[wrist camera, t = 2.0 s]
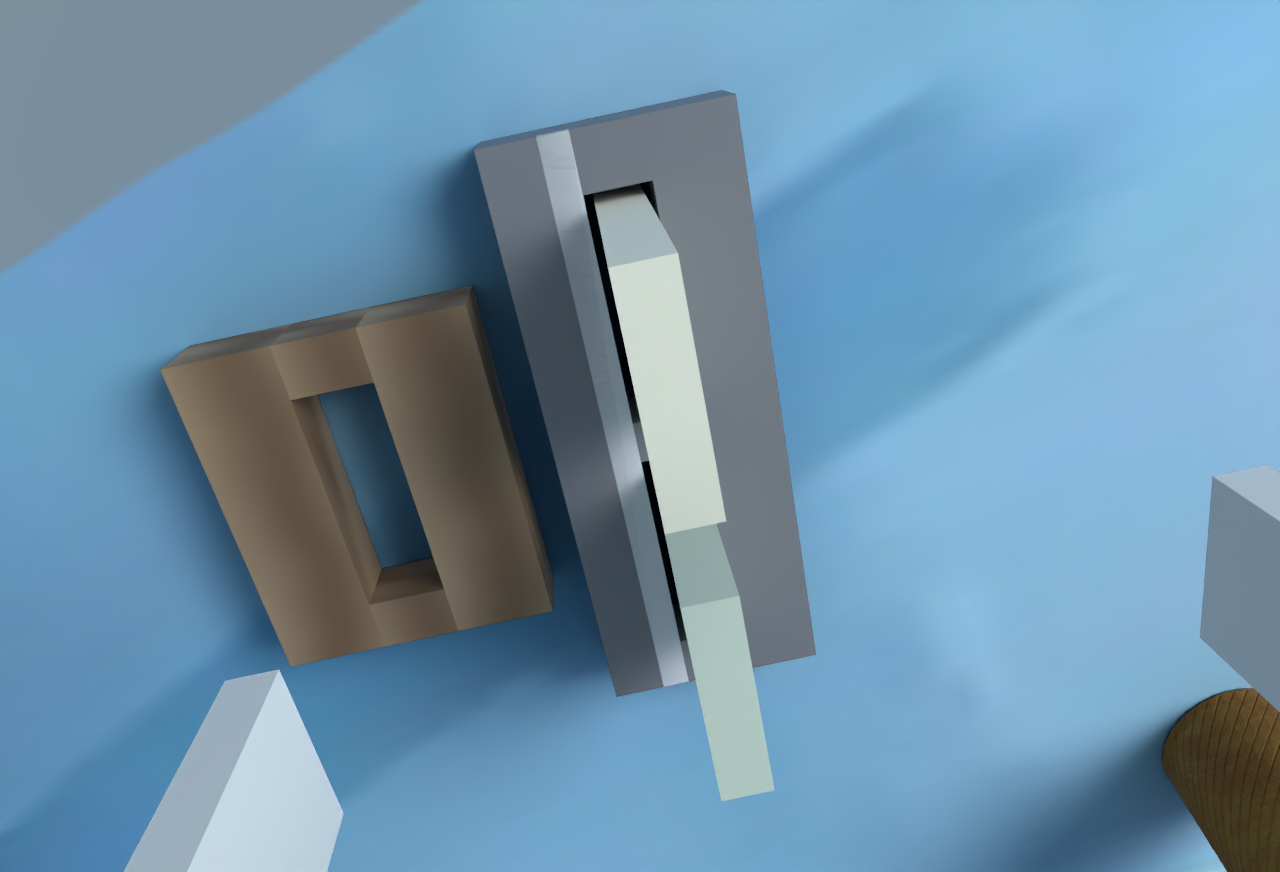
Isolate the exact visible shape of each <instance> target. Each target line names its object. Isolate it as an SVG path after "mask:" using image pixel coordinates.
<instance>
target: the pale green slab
mask: <svg viewBox="0 0 1280 872" xmlns="http://www.w3.org/2000/svg"><path fill="white" fill-rule="evenodd" d="M593 198H594V203H595V208H596V212H597V217H598V222H599V227H600V232H601V237H602V241H603V246H604V251H605V256H606V261H607V266H608V270H609V275H610V280H611V284H612V289H613V294H614V298H615V303H616V308H617V312H618V317H619V322H620V326H621V331H622V336H623V340H624V345H625V350H626V355H627V359H628V364H629V369H630V373H631V378H632V383H633V387H634V392H635V397H636V401H637V406H638V411H639V415H640V420H641V425H642V429H643V434H644V439H645V444H646V448H647V453H648V458H649V462H650V467H651V472H652V476H653V481H654V486H655V490H656V495H657V500H658V504H659V509H660V514H661V518H662V523H663V528H664V533H665V534H669V533H674V532H679V531H683V530H688V529H693V528H697V527H702V526H707V525H712V524H716V523H721V522H726V516H725V511H724V505H723V500H722V494H721V489H720V483H719V478H718V472H717V466H716V461H715V455H714V450H713V444H712V439H711V433H710V428H709V422H708V416H707V411H706V405H705V400H704V394H703V389H702V383H701V378H700V372H699V366H698V361H697V355H696V350H695V344H694V339H693V333H692V328H691V322H690V316H689V311H688V305H687V300H686V294H685V289H684V283H683V278H682V272H681V266H680V261H679V255H678V252H677V250H676V248H675V247H674V245H673V243H672V241H671V239H670V238H669V236H668V234H667V232H666V230H665V229H664V227H663V225H662V223H661V222H660V220H659V218H658V216H657V214H656V213H655V211H654V209H653V207H652V206H651V204H650V202H649V200H648V198H647V197H646V195H645V193H644V191H643V189H642V188H641V186H640V184H637V185H632V186H627V187H623V188H618V189H613V190H609V191H604V192H599V193H595V194H593Z"/></svg>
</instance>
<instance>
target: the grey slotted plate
mask: <svg viewBox="0 0 1280 872" xmlns="http://www.w3.org/2000/svg"><path fill="white" fill-rule="evenodd" d="M474 153H475V157H476V161H477V165H478V169H479V172H480V176H481V180H482V184H483V188H484V191H485V195H486V199H487V203H488V207H489V211H490V214H491V218H492V222H493V226H494V230H495V234H496V237H497V241H498V245H499V249H500V253H501V257H502V260H503V264H504V268H505V272H506V276H507V279H508V283H509V287H510V291H511V295H512V299H513V302H514V306H515V310H516V314H517V318H518V322H519V325H520V329H521V333H522V337H523V341H524V345H525V348H526V352H527V356H528V360H529V364H530V367H531V371H532V375H533V379H534V383H535V387H536V390H537V394H538V398H539V402H540V406H541V410H542V413H543V417H544V421H545V425H546V429H547V433H548V436H549V440H550V444H551V448H552V452H553V455H554V459H555V463H556V467H557V471H558V475H559V478H560V482H561V486H562V490H563V494H564V498H565V501H566V505H567V509H568V513H569V517H570V521H571V524H572V528H573V532H574V536H575V540H576V543H577V547H578V551H579V555H580V559H581V563H582V566H583V570H584V574H585V578H586V582H587V586H588V589H589V593H590V597H591V601H592V605H593V609H594V612H595V616H596V620H597V624H598V628H599V632H600V635H601V639H602V643H603V647H604V651H605V654H606V658H607V662H608V666H609V670H610V674H611V677H612V681H613V685H614V689H615V693H616V697H618V696H622V695H627V694H632V693H636V692H641V691H646V690H651V689H655V688H660V687H665V686H670V685H674V684H679V683H684V682H689V681H693V680H696V679H695V674H694V670H693V665H692V660H691V656H690V651H689V646H688V642H687V637H686V632H685V628H684V623H683V618H682V613H681V609H680V604H679V603H678V604H674V605H673V603H672V599H671V594H670V590H669V585H668V580H667V576H666V571H665V567H664V562H663V557H662V553H661V548H660V544H659V539H658V534H657V530H656V525H655V521H654V516H653V511H652V507H651V502H650V498H649V493H648V488H647V484H646V479H645V475H644V470H643V465H642V462H645V461H649V458H648V453H647V448H646V444H645V439H644V434H643V429H642V425H641V420H640V415H639V411H638V406H637V401H636V397H635V396H633V397H628V396H627V392H626V387H625V383H624V378H623V373H622V369H621V364H620V360H619V355H618V350H617V346H616V341H615V337H614V332H613V327H612V323H611V318H610V314H609V309H608V304H607V300H606V295H605V291H604V286H603V281H602V277H601V272H600V268H599V263H598V258H597V254H596V249H595V245H594V240H593V235H592V231H591V226H590V222H589V217H588V212H587V208H586V203H585V199H584V195H587V194H592V193H596V192H601V191H606V190H610V189H615V188H620V187H624V186H629V185H634V184H638V183H643V182H648V184H649V189H650V194H651V200H652V205H653V209H654V211H655V213H656V214H657V216H658V218H659V220H660V222H661V223H662V225H663V227H664V229H665V230H666V232H667V234H668V236H669V238H670V239H671V241H672V243H673V245H674V247H675V248H676V250H677V252H678V255H679V261H680V266H681V272H682V278H683V283H684V289H685V294H686V300H687V305H688V311H689V316H690V322H691V328H692V333H693V339H694V344H695V350H696V355H697V361H698V366H699V372H700V378H701V383H702V389H703V394H704V400H705V405H706V411H707V416H708V422H709V428H710V433H711V439H712V444H713V450H714V455H715V461H716V466H717V472H718V478H719V483H720V489H721V494H722V500H723V505H724V511H725V516H726V522H721V523H716V524H717V527H718V531H719V534H720V537H721V540H722V543H723V546H724V549H725V552H726V555H727V559H728V562H729V565H730V568H731V571H732V574H733V577H734V580H735V583H736V587H737V590H738V593H739V596H740V601H741V607H742V613H743V618H744V624H745V629H746V635H747V640H748V646H749V651H750V657H751V663H752V668H755V667H760V666H764V665H769V664H774V663H779V662H783V661H788V660H793V659H798V658H802V657H807V656H812V655H816V652H815V645H814V638H813V631H812V624H811V617H810V610H809V603H808V596H807V589H806V582H805V575H804V568H803V561H802V554H801V547H800V540H799V533H798V526H797V519H796V512H795V505H794V498H793V491H792V484H791V477H790V470H789V463H788V456H787V449H786V442H785V435H784V428H783V421H782V414H781V407H780V400H779V393H778V386H777V379H776V372H775V365H774V358H773V351H772V344H771V337H770V330H769V323H768V316H767V309H766V302H765V295H764V288H763V281H762V274H761V267H760V260H759V253H758V246H757V239H756V232H755V225H754V218H753V211H752V204H751V197H750V190H749V183H748V176H747V169H746V162H745V155H744V148H743V141H742V134H741V127H740V120H739V113H738V106H737V99H736V94H734V93H730V92H727V91H723V90H721V91H716V92H712V93H707V94H702V95H698V96H693V97H688V98H684V99H679V100H674V101H670V102H665V103H661V104H656V105H651V106H647V107H642V108H637V109H633V110H628V111H623V112H619V113H614V114H609V115H605V116H600V117H595V118H591V119H586V120H581V121H577V122H572V123H567V124H563V125H558V126H554V127H549V128H544V129H540V130H535V131H530V132H526V133H521V134H516V135H512V136H507V137H502V138H498V139H493V140H488V141H484V142H480V144H479V145H478V146H477V147H476V148H475V149H474Z"/></svg>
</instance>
